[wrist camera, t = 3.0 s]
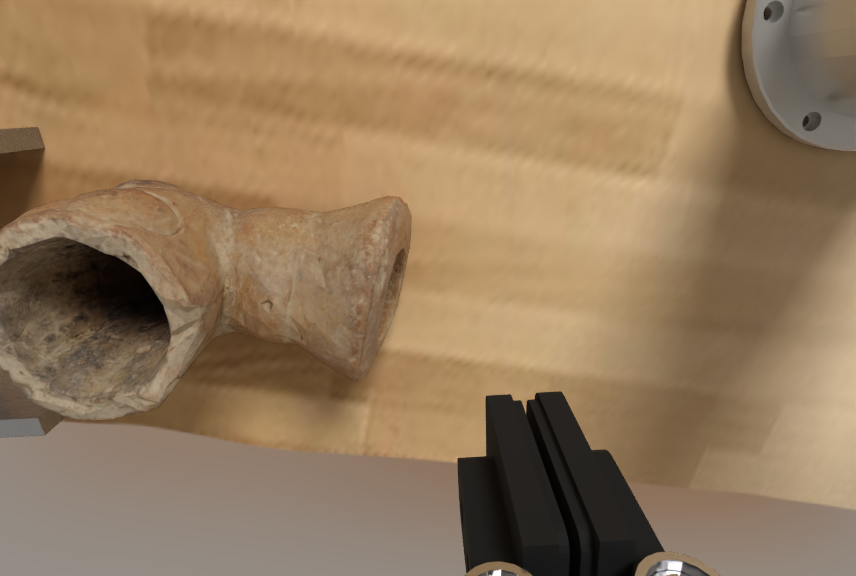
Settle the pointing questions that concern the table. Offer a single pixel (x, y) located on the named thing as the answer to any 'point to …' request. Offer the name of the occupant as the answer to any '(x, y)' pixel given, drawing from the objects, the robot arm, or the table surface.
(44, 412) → the gray channel bracket
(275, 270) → the pipe
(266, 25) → the table surface
